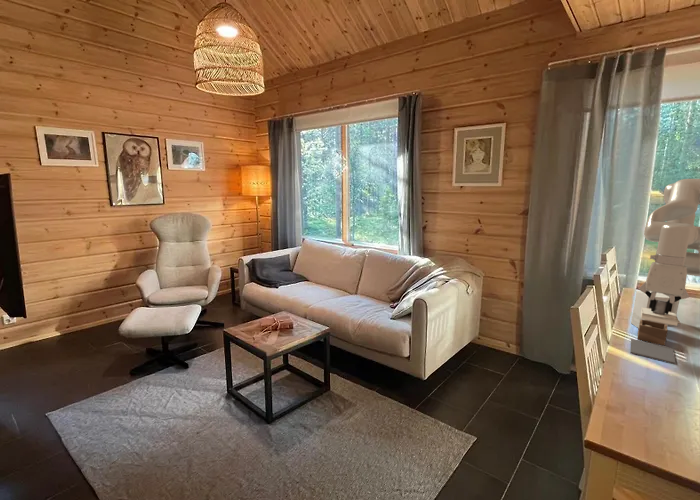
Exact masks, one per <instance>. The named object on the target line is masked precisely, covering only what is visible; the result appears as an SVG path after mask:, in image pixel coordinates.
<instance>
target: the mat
mask: <svg viewBox="0 0 700 500" xmlns="http://www.w3.org/2000/svg"><path fill="white" fill-rule="evenodd" d="M629 350H630V351H629V352H630V354H631V353H632V355H636V354H637V355H636V356H640V355H641V356H640V357H644V356H645V358H648V357H649V359H652V358H653V359H652V360H656V359H658V360H657V361H660V360H663V361H662V362H664V361H666V362H665V363H668V362H669V364H672V365H676V358H675V353H674V348H673V347H669V346H666V345H665V346H663V345H659V344H654V343H650V342H645V341H641V340H638V339H634V338H631V339H630V349H629Z"/></svg>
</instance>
